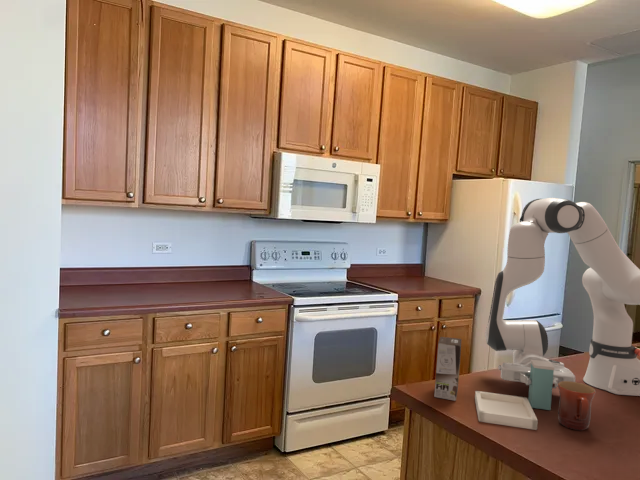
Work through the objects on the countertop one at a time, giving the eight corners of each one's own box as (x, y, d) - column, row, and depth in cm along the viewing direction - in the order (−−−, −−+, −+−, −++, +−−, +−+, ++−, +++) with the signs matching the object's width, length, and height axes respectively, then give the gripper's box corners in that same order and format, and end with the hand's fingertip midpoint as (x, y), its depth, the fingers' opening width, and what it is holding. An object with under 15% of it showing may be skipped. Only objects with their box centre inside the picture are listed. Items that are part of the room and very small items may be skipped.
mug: (550, 416, 132) (553, 379, 131) (585, 421, 130) (589, 383, 130) (563, 436, 120) (567, 395, 120) (602, 441, 118) (606, 400, 118)
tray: (526, 406, 138) (527, 397, 138) (536, 430, 123) (537, 420, 123) (474, 399, 142) (475, 390, 141) (478, 421, 126) (479, 411, 126)
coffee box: (456, 401, 139) (460, 345, 138) (433, 397, 141) (437, 342, 140) (458, 390, 148) (462, 338, 147) (436, 387, 150) (440, 335, 149)
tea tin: (547, 403, 141) (550, 361, 140) (550, 410, 136) (554, 367, 135) (527, 400, 142) (530, 359, 141) (530, 407, 137) (534, 365, 136)
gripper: (497, 355, 153) (503, 368, 140) (568, 363, 148) (581, 377, 135) (496, 374, 154) (501, 389, 140) (567, 383, 149) (579, 400, 135)
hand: (541, 384), depth 138 cm, fingers closed on tea tin, 5 cm apart
